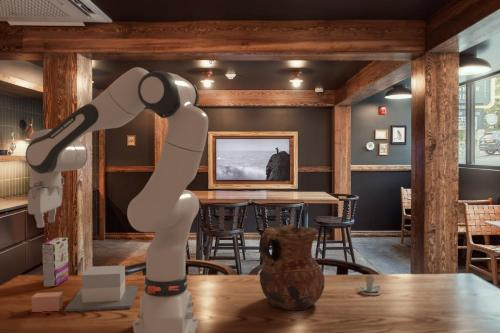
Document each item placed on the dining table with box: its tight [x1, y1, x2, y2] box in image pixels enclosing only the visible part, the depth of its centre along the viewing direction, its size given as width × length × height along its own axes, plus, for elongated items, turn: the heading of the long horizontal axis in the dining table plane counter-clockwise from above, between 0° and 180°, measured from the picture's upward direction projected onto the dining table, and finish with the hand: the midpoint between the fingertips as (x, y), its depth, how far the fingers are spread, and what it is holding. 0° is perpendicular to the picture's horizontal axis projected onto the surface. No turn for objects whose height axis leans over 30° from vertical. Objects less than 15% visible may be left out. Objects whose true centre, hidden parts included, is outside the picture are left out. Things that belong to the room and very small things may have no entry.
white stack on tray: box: [64, 264, 140, 312], centre depth 138 cm, size 20×20×10 cm
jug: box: [258, 224, 326, 312], centre depth 134 cm, size 22×21×25 cm
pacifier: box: [358, 274, 381, 296], centre depth 144 cm, size 7×6×6 cm
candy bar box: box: [41, 237, 70, 286], centre depth 156 cm, size 11×5×16 cm, turn 179°
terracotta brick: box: [31, 291, 64, 312], centre depth 129 cm, size 4×8×5 cm, turn 98°
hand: (46, 224), depth 128 cm, fingers open, 8 cm apart
